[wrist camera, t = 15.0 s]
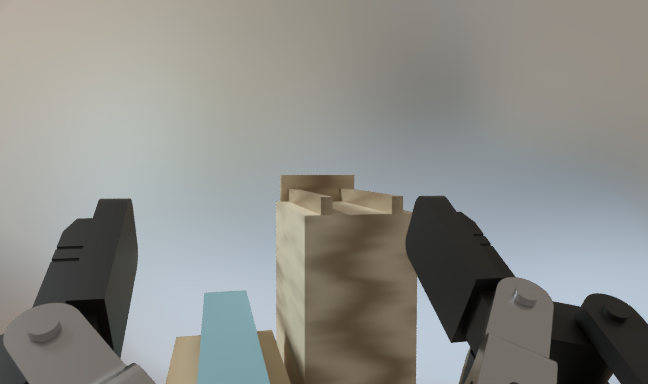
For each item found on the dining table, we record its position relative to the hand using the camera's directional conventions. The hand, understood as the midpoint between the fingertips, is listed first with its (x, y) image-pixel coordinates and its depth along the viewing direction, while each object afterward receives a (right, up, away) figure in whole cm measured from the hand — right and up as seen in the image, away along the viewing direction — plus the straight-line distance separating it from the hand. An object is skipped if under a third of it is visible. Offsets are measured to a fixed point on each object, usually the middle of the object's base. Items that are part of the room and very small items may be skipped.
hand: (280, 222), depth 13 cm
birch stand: (+2, -32, +27) cm, 42 cm away
